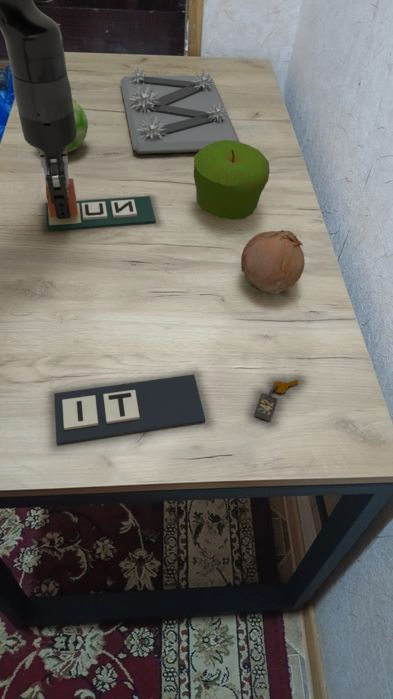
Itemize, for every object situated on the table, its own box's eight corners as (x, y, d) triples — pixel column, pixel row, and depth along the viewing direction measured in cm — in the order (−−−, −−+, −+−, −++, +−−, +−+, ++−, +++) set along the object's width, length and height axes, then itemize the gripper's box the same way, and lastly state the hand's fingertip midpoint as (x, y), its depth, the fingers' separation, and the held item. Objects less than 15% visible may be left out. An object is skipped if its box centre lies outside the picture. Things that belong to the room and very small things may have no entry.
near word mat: (57, 445, 58) (55, 440, 57) (54, 395, 62) (53, 390, 61) (205, 422, 61) (206, 417, 60) (193, 376, 65) (194, 371, 64)
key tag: (267, 424, 61) (268, 422, 61) (247, 411, 62) (248, 409, 62) (299, 381, 66) (300, 379, 65) (279, 370, 67) (280, 367, 66)
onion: (275, 282, 81) (305, 228, 76) (292, 313, 74) (327, 256, 69) (224, 266, 78) (252, 208, 73) (237, 296, 71) (270, 234, 66)
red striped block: (50, 217, 80) (46, 195, 77) (49, 200, 83) (45, 179, 79) (77, 215, 81) (74, 193, 78) (76, 199, 83) (73, 177, 80)
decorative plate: (241, 154, 99) (246, 120, 93) (134, 158, 95) (132, 122, 90) (211, 84, 116) (214, 51, 111) (120, 85, 113) (118, 51, 107)
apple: (190, 228, 84) (194, 169, 75) (191, 186, 91) (195, 127, 82) (262, 232, 84) (275, 174, 75) (258, 190, 92) (269, 132, 83)
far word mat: (47, 231, 81) (46, 225, 80) (46, 205, 85) (44, 199, 84) (155, 223, 84) (155, 217, 83) (149, 198, 88) (149, 192, 87)
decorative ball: (36, 162, 92) (25, 110, 84) (40, 134, 98) (30, 82, 90) (89, 163, 93) (83, 111, 85) (91, 135, 99) (85, 84, 91)
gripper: (17, 81, 72) (39, 184, 85) (16, 133, 63) (40, 237, 77) (70, 80, 73) (83, 181, 87) (76, 131, 65) (89, 234, 78)
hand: (63, 207), depth 82 cm, fingers closed on red striped block, 4 cm apart
